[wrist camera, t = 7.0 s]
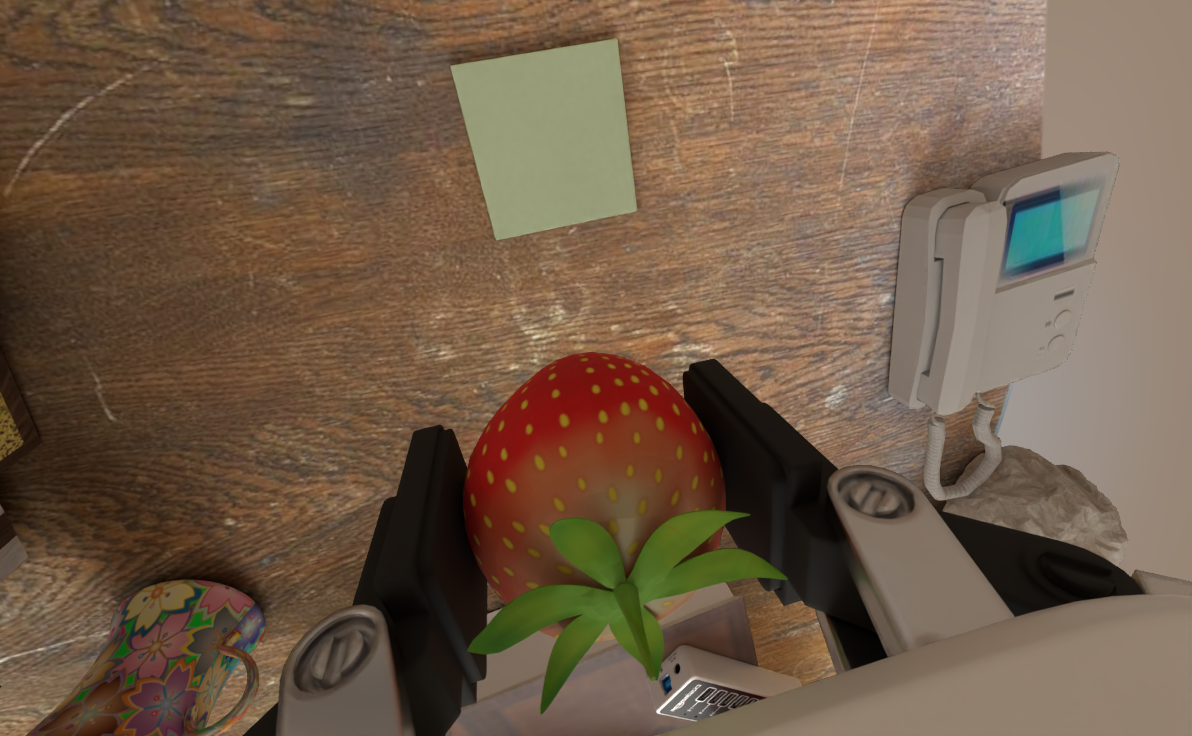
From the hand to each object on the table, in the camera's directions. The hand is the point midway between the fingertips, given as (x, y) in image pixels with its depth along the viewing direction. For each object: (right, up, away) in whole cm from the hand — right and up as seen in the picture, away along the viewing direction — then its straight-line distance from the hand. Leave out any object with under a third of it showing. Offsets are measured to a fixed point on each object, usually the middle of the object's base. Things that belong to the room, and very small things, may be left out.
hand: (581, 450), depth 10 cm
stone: (+35, -19, +25) cm, 47 cm away
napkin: (-2, +13, +13) cm, 19 cm away
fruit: (-1, +1, +3) cm, 3 cm away
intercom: (+32, -8, +28) cm, 44 cm away
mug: (-26, -15, +21) cm, 36 cm away
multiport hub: (+11, -23, +26) cm, 36 cm away
